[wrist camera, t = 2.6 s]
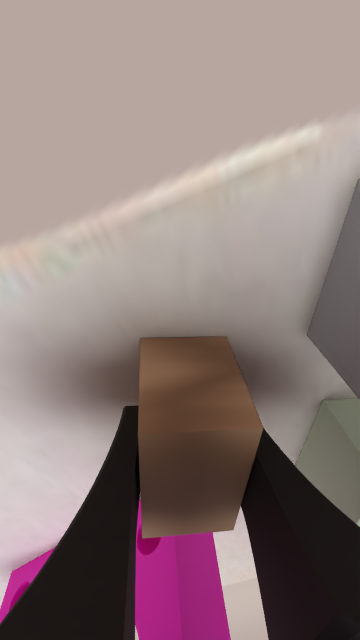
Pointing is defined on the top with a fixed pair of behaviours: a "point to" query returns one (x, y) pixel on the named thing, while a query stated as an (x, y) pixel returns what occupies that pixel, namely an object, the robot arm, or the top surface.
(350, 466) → the sage brick
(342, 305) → the slate brick
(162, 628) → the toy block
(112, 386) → the top surface
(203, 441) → the walnut brick
